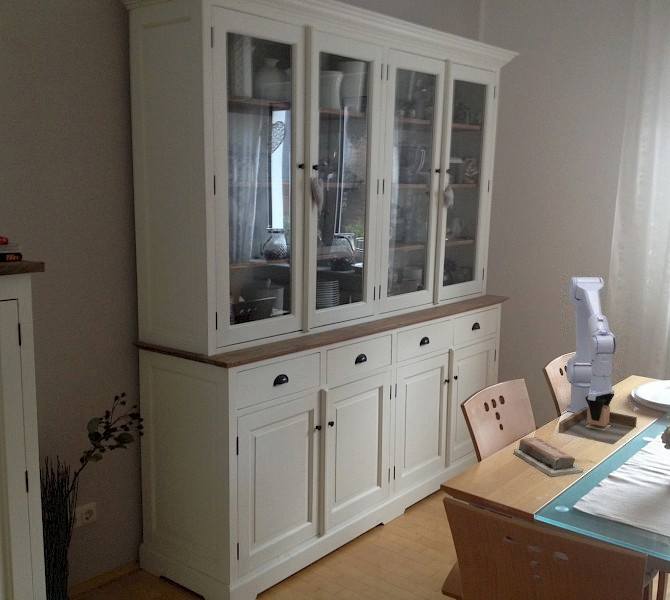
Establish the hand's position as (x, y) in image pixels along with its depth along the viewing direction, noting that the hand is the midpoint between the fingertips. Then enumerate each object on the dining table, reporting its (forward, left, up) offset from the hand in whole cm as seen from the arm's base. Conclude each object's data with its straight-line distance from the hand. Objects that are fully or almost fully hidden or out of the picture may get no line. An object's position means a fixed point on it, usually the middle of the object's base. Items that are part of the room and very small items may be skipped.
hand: (598, 418), depth 221 cm
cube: (0, 0, -2) cm, 2 cm away
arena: (+3, +1, -4) cm, 5 cm away
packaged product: (+35, -1, -4) cm, 35 cm away
